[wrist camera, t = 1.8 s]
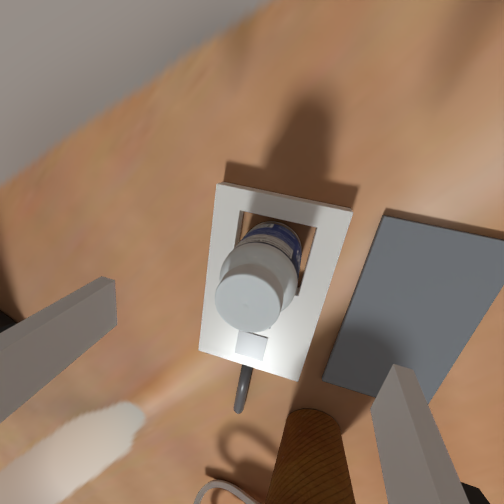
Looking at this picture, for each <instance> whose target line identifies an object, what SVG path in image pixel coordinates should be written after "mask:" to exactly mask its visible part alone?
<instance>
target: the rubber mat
mask: <svg viewBox="0 0 504 504" xmlns="http://www.w3.org/2000/svg"><path fill="white" fill-rule="evenodd" d="M503 285H504V240H501V239H496V238H491V237H487V236H482V235H477V234H472V233H467V232H463V231H458V230H453V229H448V228H443V227H438V226H434V225H429V224H424V223H419V222H414V221H410V220H405V219H400V218H395V217H390V216H386V215H382V218H381V221H380V223H379V226H378V229H377V231H376V234H375V237H374V239H373V242H372V245H371V247H370V250H369V253H368V256H367V258H366V261H365V264H364V266H363V269H362V272H361V274H360V277H359V280H358V282H357V285H356V288H355V290H354V293H353V296H352V298H351V301H350V304H349V306H348V309H347V312H346V314H345V317H344V320H343V322H342V325H341V328H340V330H339V333H338V336H337V338H336V341H335V344H334V347H333V349H332V352H331V355H330V357H329V360H328V363H327V365H326V368H325V371H324V373H323V376H322V381H324V382H327V383H331V384H334V385H337V386H340V387H343V388H347V389H350V390H353V391H356V392H359V393H363V394H366V395H369V396H372V397H375V398H376V397H377V395H378V393H379V391H380V389H381V387H382V385H383V383H384V381H385V379H386V377H387V375H388V373H389V371H390V369H391V367H392V365H393V364H396V365H399V366H402V367H406V368H409V369H412V370H414V373H415V375H416V378H417V380H418V382H419V385H420V387H421V389H422V392H423V394H424V397H425V399H426V401H427V404H429V402H430V401H431V399H432V397H433V396H434V394H435V393H436V391H437V390H438V388H439V386H440V385H441V383H442V382H443V380H444V378H445V377H446V375H447V374H448V372H449V371H450V369H451V367H452V366H453V364H454V363H455V361H456V360H457V358H458V356H459V355H460V353H461V352H462V350H463V348H464V347H465V345H466V344H467V342H468V341H469V339H470V337H471V336H472V334H473V333H474V331H475V329H476V328H477V326H478V325H479V323H480V322H481V320H482V318H483V317H484V315H485V314H486V312H487V311H488V309H489V307H490V306H491V304H492V303H493V301H494V299H495V298H496V296H497V295H498V293H499V292H500V290H501V288H502V287H503Z"/></svg>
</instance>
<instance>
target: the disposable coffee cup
mask: <svg viewBox="0 0 504 504" xmlns="http://www.w3.org/2000/svg"><path fill="white" fill-rule="evenodd" d="M265 504H356V503H355V499H354V494H353V490H352V485H351V479H350V475H349V470H348V465H347V460H346V456H345V451H344V446H343V441H342V437H341V432H340V428H339V425H338V424H337V422H336V421H335V420H334V419H333V418H332V417H330V416H329V415H327V414H325V413H323V412H321V411H318V410H314V409H301V410H297V411H294V412H292V413H291V414H290V415H289V416H288V418H287V420H286V424H285V428H284V432H283V436H282V440H281V443H280V447H279V451H278V455H277V459H276V463H275V467H274V471H273V475H272V479H271V483H270V487H269V491H268V495H267V499H266V503H265Z"/></svg>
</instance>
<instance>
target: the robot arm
mask: <svg viewBox="0 0 504 504" xmlns="http://www.w3.org/2000/svg"><path fill="white" fill-rule="evenodd" d="M116 325H117V310H116V292H115V280H112V279H109V278H106V277H102V276H101V277H99V278H98V279H96V280H94V281H92V282H90V283H89V284H87V285H85V286H83V287H82V288H80V289H78V290H76V291H74V292H73V293H71V294H69V295H67V296H66V297H64V298H62V299H60V300H58V301H57V302H55V303H53V304H51V305H50V306H48V307H46V308H44V309H42V310H41V311H39V312H37V313H35V314H33V315H32V316H30V317H28V318H26V319H25V320H23V321H21V322H19V323H17V324H16V323H15V322H14V321H13V320H11V319H10V318H9V317H8V316H6V315H5V314H3V313H2V312H0V423H1V422H2V421H4V420H5V419H6V418H7V417H8V416H9V415H11V414H12V413H13V412H14V411H15V410H17V409H18V408H19V407H20V406H21V405H23V404H24V403H25V402H26V401H27V400H28V399H30V398H31V397H32V396H33V395H34V394H36V393H37V392H38V391H39V390H40V389H42V388H43V387H44V386H45V385H46V384H47V383H49V382H50V381H51V380H52V379H53V378H55V377H56V376H57V375H58V374H59V373H61V372H62V371H63V370H64V369H65V368H66V367H68V366H69V365H70V364H71V363H72V362H74V361H75V360H76V359H77V358H78V357H80V356H81V355H82V354H83V353H84V352H85V351H87V350H88V349H89V348H90V347H91V346H93V345H94V344H95V343H96V342H97V341H99V340H100V339H101V338H102V337H103V336H104V335H106V334H107V333H108V332H109V331H110V330H112V329H113V328H114V327H115V326H116ZM370 410H371V415H372V420H373V425H374V431H375V436H376V441H377V447H378V452H379V457H380V462H381V468H382V473H383V478H384V483H385V489H386V494H387V499H388V504H490V503H489V502H488V500H487V499H486V498H485V496H484V495H483V494H482V492H481V491H480V489H479V488H476V487H473V486H471V485H468V484H465V483H462V482H460V480H459V477H458V475H457V473H456V470H455V468H454V465H453V463H452V461H451V458H450V456H449V454H448V451H447V449H446V446H445V444H444V442H443V439H442V437H441V435H440V432H439V430H438V427H437V425H436V423H435V420H434V418H433V416H432V413H431V411H430V408H429V406H428V404H427V401H426V399H425V397H424V394H423V392H422V389H421V387H420V385H419V382H418V380H417V378H416V375H415V373H414V370H412V369H409V368H406V367H402V366H399V365H396V364H393V365H392V367H391V369H390V371H389V373H388V375H387V377H386V379H385V381H384V383H383V385H382V387H381V389H380V391H379V393H378V395H377V397H376V399H375V401H374V403H373V404H372V406H371V408H370Z"/></svg>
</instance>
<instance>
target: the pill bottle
mask: <svg viewBox="0 0 504 504" xmlns="http://www.w3.org/2000/svg"><path fill="white" fill-rule="evenodd" d="M301 255H302V247H301V242H300V239H299V237H298V236H297V234H296V233H295V232H294V231H293V230H292V229H291V228H290V227H289V226H287V225H285V224H283V223H280V222H275V221H268V222H263V223H260V224H258V225H256V226H255V227H253V228H252V229H251V230H250V231H249V232H248V233H247V234H246V235H245V236H244V238H243V239H242V240H241V241H240V242H239V243H238V244H237V246H236V247H235V248H234V249H233V250H232V251H231V252H230V253H229V255H228V256H227V257H226V259H225V261H224V262H223V264H222V267H221V270H220V283H219V285H218V287H217V289H216V292H215V305H216V309H217V311H218V313H219V314H220V316H221V317H222V319H223V320H224V321H225V322H226V323H228V324H229V325H230V326H232V327H233V328H235V329H238V330H240V331H244V332H251V333H255V332H261V331H264V330H266V329H268V328H270V327H271V326H272V325H273V324H274V323H275V322H276V321H277V319H278V317H279V315H280V312H282V311H283V310H284V309H286V308H287V307H288V306H289V304H290V303H291V302H292V300H293V298H294V296H295V293H296V290H297V284H298V277H299V270H300V263H301Z"/></svg>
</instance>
